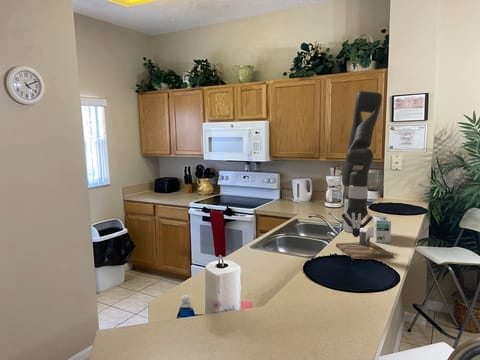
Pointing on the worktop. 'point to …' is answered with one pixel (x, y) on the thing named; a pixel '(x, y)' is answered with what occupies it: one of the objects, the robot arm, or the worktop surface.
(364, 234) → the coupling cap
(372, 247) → the base
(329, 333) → the worktop surface
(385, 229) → the light bulb box
